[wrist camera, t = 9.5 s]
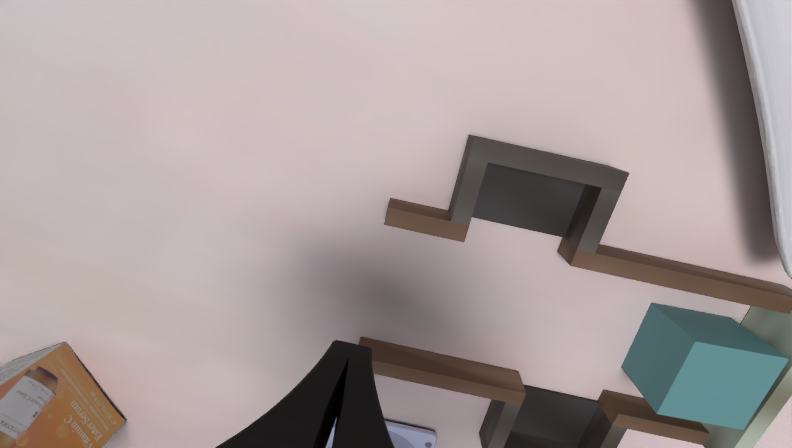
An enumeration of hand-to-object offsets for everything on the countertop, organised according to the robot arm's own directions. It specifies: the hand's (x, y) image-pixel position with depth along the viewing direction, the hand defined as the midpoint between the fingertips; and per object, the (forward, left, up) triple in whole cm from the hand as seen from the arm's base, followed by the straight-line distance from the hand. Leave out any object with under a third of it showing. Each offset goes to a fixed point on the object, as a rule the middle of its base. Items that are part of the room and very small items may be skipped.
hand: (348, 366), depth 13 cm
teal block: (-2, -20, -11) cm, 23 cm away
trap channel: (-2, -12, -10) cm, 16 cm away
